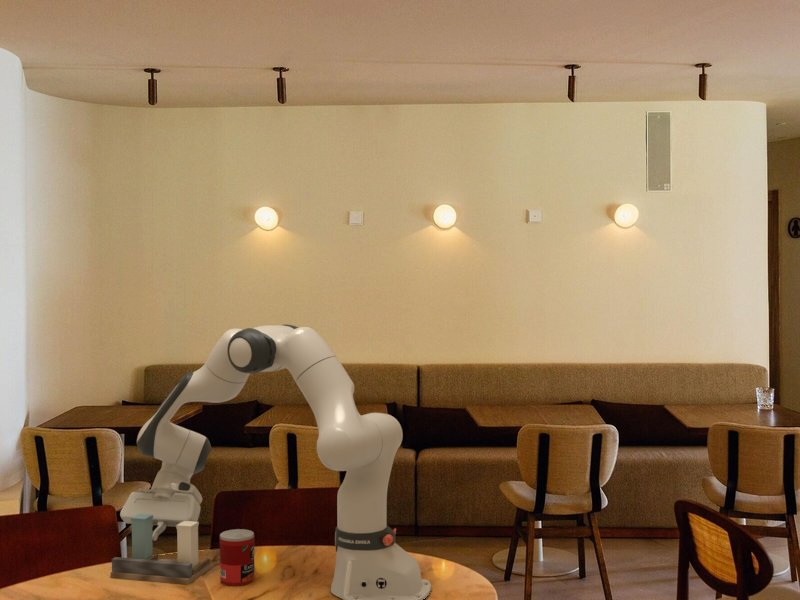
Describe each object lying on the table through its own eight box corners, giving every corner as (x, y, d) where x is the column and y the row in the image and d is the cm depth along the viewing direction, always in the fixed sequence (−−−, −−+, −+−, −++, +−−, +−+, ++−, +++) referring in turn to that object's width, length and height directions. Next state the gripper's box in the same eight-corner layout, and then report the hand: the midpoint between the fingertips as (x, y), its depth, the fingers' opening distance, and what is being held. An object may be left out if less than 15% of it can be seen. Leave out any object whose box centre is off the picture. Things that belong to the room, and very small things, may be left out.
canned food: (247, 587, 193) (247, 539, 193) (214, 585, 195) (214, 537, 194) (259, 576, 201) (259, 529, 200) (227, 574, 202) (227, 528, 202)
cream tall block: (199, 566, 203) (198, 521, 203) (191, 572, 199) (191, 526, 199) (184, 565, 204) (184, 520, 204) (176, 570, 200) (176, 525, 200)
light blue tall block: (153, 558, 209) (153, 514, 209) (145, 563, 206) (144, 518, 206) (139, 557, 210) (139, 513, 210) (131, 562, 207) (130, 517, 206)
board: (211, 567, 207) (211, 550, 207) (187, 584, 195) (187, 566, 195) (138, 561, 212) (138, 544, 212) (110, 577, 200) (110, 560, 200)
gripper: (128, 482, 221) (106, 530, 211) (200, 486, 216) (181, 535, 206) (137, 495, 225) (117, 542, 216) (208, 499, 220) (190, 548, 211)
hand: (149, 539), depth 211 cm, fingers closed
